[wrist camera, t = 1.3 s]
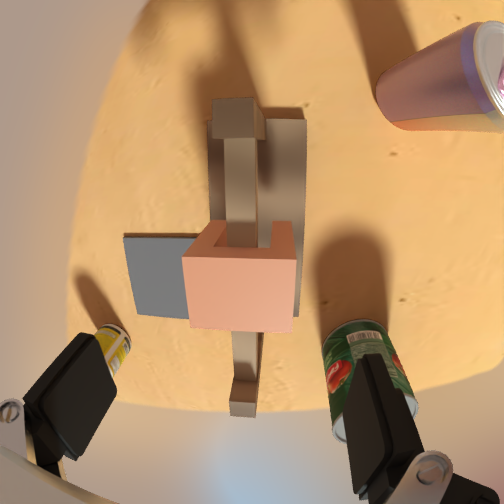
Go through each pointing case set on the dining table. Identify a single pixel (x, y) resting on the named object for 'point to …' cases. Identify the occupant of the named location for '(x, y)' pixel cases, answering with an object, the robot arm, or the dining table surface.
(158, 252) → the mat
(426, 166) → the dining table surface
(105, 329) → the supplement bottle
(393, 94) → the beverage can
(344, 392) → the canned tomato
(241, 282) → the c link
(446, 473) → the robot arm
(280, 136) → the stand
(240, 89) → the dining table surface
